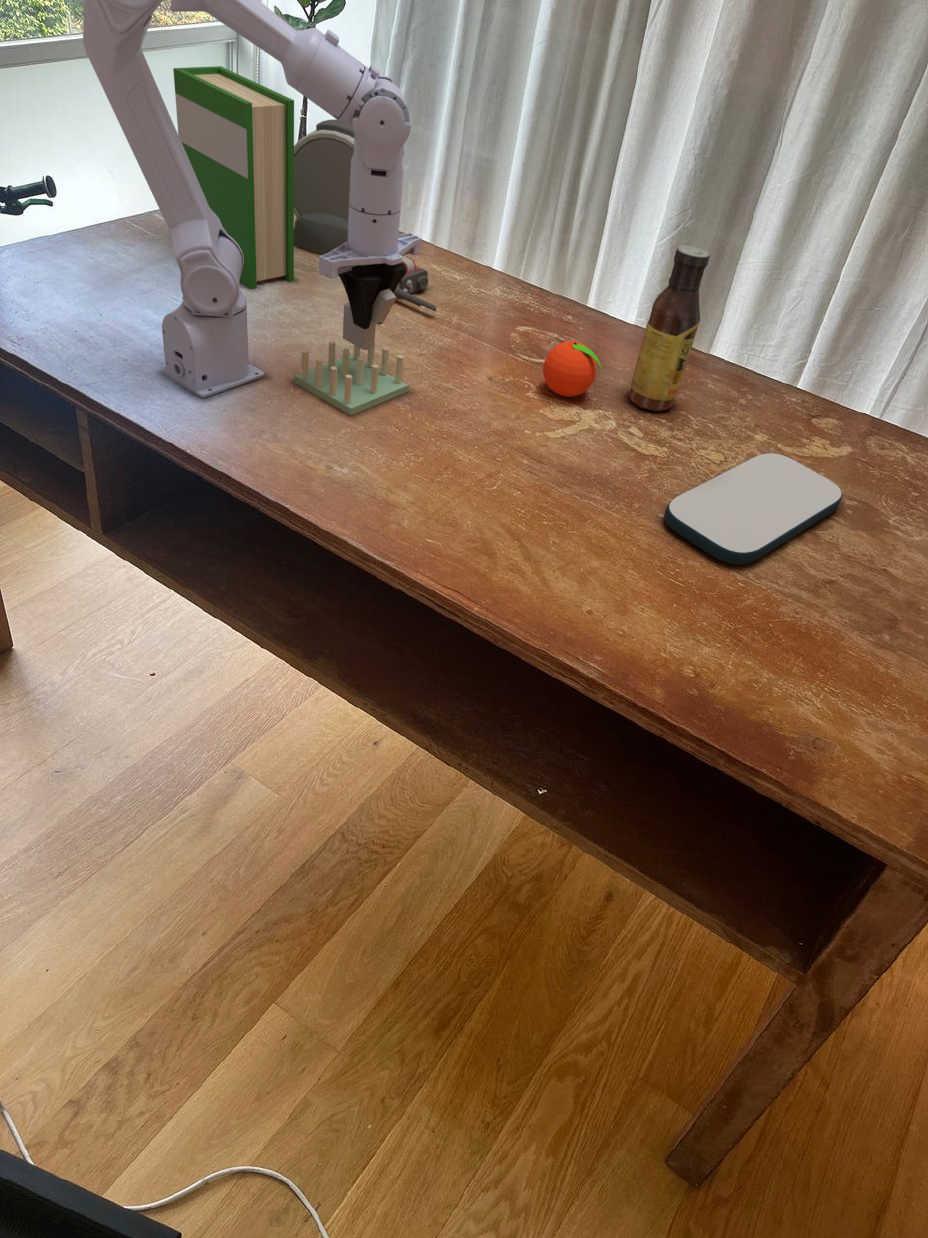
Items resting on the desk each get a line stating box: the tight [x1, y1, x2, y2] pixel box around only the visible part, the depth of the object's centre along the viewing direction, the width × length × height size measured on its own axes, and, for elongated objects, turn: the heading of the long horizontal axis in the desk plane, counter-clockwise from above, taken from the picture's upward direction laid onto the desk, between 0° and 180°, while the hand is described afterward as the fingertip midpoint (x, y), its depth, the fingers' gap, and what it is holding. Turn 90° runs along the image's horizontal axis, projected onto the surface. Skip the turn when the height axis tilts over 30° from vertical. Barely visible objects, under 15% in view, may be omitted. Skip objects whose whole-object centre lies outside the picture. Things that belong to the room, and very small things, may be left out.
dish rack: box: [294, 340, 410, 417], centre depth 110 cm, size 10×10×4 cm
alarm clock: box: [294, 119, 355, 256], centre depth 140 cm, size 16×10×18 cm, turn 74°
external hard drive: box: [663, 452, 843, 566], centre depth 101 cm, size 24×12×2 cm, turn 133°
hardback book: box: [172, 65, 295, 290], centre depth 128 cm, size 18×7×24 cm, turn 43°
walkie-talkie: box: [393, 255, 437, 312], centre depth 134 cm, size 9×4×20 cm
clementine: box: [542, 340, 603, 398], centre depth 115 cm, size 8×7×7 cm
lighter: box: [342, 289, 397, 351], centre depth 107 cm, size 7×2×8 cm, turn 49°
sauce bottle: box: [628, 244, 711, 412], centre depth 113 cm, size 6×6×20 cm
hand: (367, 323), depth 108 cm, fingers closed on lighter, 2 cm apart
